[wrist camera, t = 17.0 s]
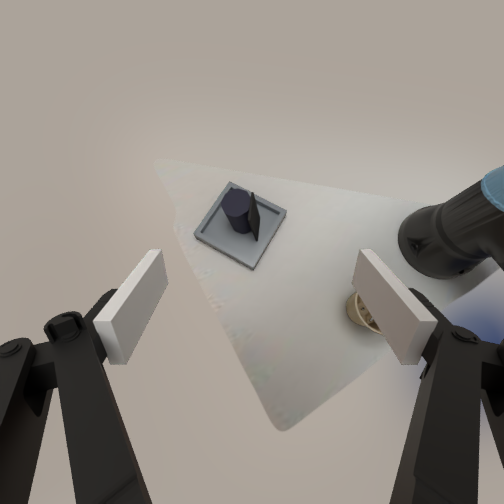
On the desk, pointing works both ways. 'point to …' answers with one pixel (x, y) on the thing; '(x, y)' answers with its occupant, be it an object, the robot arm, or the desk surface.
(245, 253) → the tray
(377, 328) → the flower pot
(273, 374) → the desk surface
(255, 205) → the dark cylinder with plate
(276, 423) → the desk surface
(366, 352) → the desk surface
